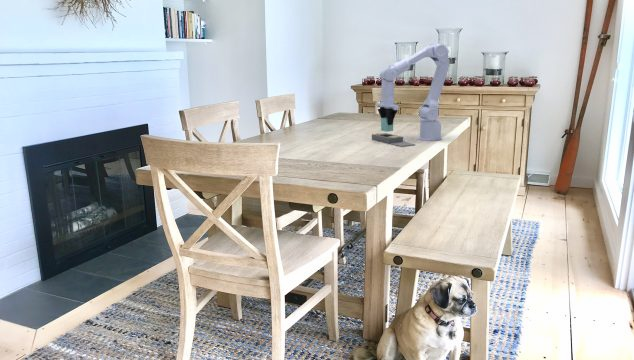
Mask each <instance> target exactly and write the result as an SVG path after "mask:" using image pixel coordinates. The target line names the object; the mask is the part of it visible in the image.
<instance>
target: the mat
mask: <svg viewBox="0 0 634 360" xmlns="http://www.w3.org/2000/svg"><path fill="white" fill-rule="evenodd" d="M389 145H391V146H396V147H399V148H403V147H404V148H405V147H413V146H416V144H415V143H411V142H407V141H403V142H398V143H390V144H389Z"/></svg>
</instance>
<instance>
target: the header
mask: <svg viewBox="0 0 634 360" xmlns="http://www.w3.org/2000/svg"><path fill="white" fill-rule="evenodd" d="M371 140H373V141H377V142H380V143H384V144H387V145H388V144H389V145H391V144H390V143H398V142H404V136H402V135H396V134H392V133H388V132H379V133H372V134H371Z"/></svg>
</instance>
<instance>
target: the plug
mask: <svg viewBox="0 0 634 360" xmlns="http://www.w3.org/2000/svg"><path fill="white" fill-rule="evenodd" d="M380 120H381V123H380V131H382V132H384V133H388V132H393V131H394V123H393V124H392V125H388V122H387V116H386V117H385V118H381V117H380Z"/></svg>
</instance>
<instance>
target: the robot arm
mask: <svg viewBox="0 0 634 360" xmlns="http://www.w3.org/2000/svg"><path fill="white" fill-rule="evenodd" d="M449 52H450V51H449V49H448V47H447V46H446V45H445V44H443V43H431V44H429V45H427V46H425V47H423V48H422V49H420V50H418V51H417V52H415V53H414V54H412V55H411V56H409V57H408V58H407V59H405V58H399V59H397V60H396V62H394V63H392V64H389V65H388V67H385V68H382V70H381V71H380V74H379V77H380V79H381V93H380V94H381V95H380V96H381V99H380V100H381V102H377V103H376V108H377V112H378V113H379V116H380V119H381V118H385V117H386V116H387V122H388V125H392V124H393V125H394V119H395V116H396V115H397V113H398V111H399V108H400V106H399V105H397V104H395V79H396V78H397V77H399V76H400V75H403V74H404V73H405V72H407V71H408V70H410V68H411V66H412V65H413V64H415V63H417V62H419V61H421V60H422V59H425V58H430V59H432V61H433V62H434V64H435V65H436V68H435V71H434V75H433V78H432V81H431V84H430V86H429V90H428V94H427V97H426V99H425V100H424V101H423V104H422V105H421V107H420V108H419V109H418V116H419V117H420V121H419V123H420V124H419V126H420V129H419V137H416V138H415V139H416V140H420V141H423V142H431V141H439V140H440V141H441V140H442V139H443V138H442V124H441V122H440V120H437V119H438V117H439V108H440V106H439V99H440V97H441V94H442V89H443V87H444V84H445V81H446V77H447V74H448V72H449V68H450V57H449Z"/></svg>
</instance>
